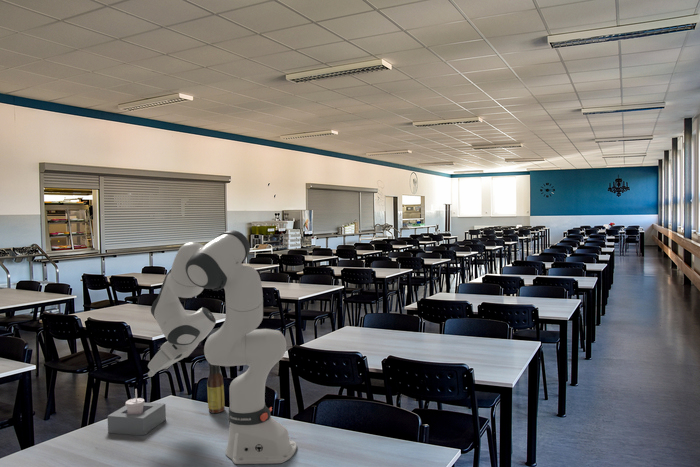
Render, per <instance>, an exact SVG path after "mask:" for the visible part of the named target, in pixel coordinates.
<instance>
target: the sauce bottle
mask: <svg viewBox="0 0 700 467" xmlns="http://www.w3.org/2000/svg"><path fill="white" fill-rule="evenodd" d="M208 366H209V374H208V378H207V380H206V387H207V388H206V389H207V408H208V411H209V412H210V413H212V414H218V413H222V412H223V411H225V408H226V407H225V405H226V404H225V386H224V385H225V384H224V377H223V375H222V373H221V371H220V366H217V365H211V364H210V363H209V362H208Z"/></svg>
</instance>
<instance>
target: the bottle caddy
mask: <svg viewBox="0 0 700 467" xmlns="http://www.w3.org/2000/svg"><path fill="white" fill-rule="evenodd" d="M166 411H167V410H166V403H161V402H160V403H159V402H145V403H144V404H143V413H142V414H141V415H140V414H128V412H127V406H126V405H124V406H122V407H120V408H119V409H117V410H115V411H113V412H112V413H110V414H108V415H107V434H108V433H110V434H119V435H120V434H122V435H133V436H145V435H146V434H148V433H149V432H151V431H152V430H153V429H155V428H156V427H157V426H159V425H160V424H162V423H164V422H165V421H166V419H167V417H166V416H167V412H166Z"/></svg>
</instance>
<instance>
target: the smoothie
mask: <svg viewBox="0 0 700 467" xmlns="http://www.w3.org/2000/svg"><path fill="white" fill-rule="evenodd" d="M134 392H135V393H134V394H135V395H134V398H130V399H128V400H126V401H125V406H127V412H128V414H140V415H141V414H142V413H143V404H144V403H146V402H145V399H144V398H141V397H138V389H137V388H135V389H134Z"/></svg>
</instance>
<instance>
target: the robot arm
mask: <svg viewBox="0 0 700 467" xmlns="http://www.w3.org/2000/svg"><path fill="white" fill-rule="evenodd" d="M250 251H251V245H250V241H249V240H248V238H247V237H246V235H244V234H243V233H242V232H241V231H238V230H234V229H233V230H227V231H224V232H222V233H220V234H218V235H217V236H216V237H214V238H213V239H212V240H210V241H208V242H207V243H205V244H202V243H199V242H197V241H196V242H195V241H192V242H187V243H184V244H183V245H181V246H180V247H179V249H178V251H177V253H176V254H175V257H174V259H173V262H172V266H171V269H170V270H169V271H168V272H167V273H166V275H165V276H164V279H163V282H162V284H161V287H160V291H159V293H158V296H157V297H156V298H155V300H154V301H153V303H152V305H151V307H150V314H151V315H152V316H153V318H154V319H155V321H156V323H157V324H158V326H159V328H160V330H161V332H162V334H163V335H164V337H165V339H166V340H167V341H165V342H164V343H162V345H160V347H159V350H158V351H157V352H156V353H155V355H154V356H153V357H152V359H151V360H150V361H149V362H148V364H147V368H148V369H149V371H148V372H147V376H148V378H151V377H153V376H155V374H157V372H159V371H162V370H167V369H169V368H170V367H171V366H172V365H173V364H175V363H178V362H179V361H181V360H183V359H184V358H188V357H189V356H190V355H191V354H192V353H193V352H194V350H195V349H196V348H197V347H198V345H199V344H200V342H202V341H203V340H204V339H206V337H207V336H208V335H209V334H210V333H211V332H212V330H213V329H214V327H215V325H216V322H217V321H216V317H215V316H214V315H213V313H212V312H211V310H210V309H208V308H206V307H203V306H202V307H201V308H199V309H198V310H197V311H195V312H194V313H191V314H190V313H189V314H188V313H187V311H186V310H185V308H184V306H183V304H182V303H181V301H180V298H182V299H188V298H189V299H190V298H194V297H197V296H199V295H200V294H201V293H202V292H203V291H204V289H207V290H212V291H215V292H216V291H220V290H222V289H224V294H225V319H224V322H223V323H222V324H221V326H220V327H219V329H217V330H216V331H215V332H213V333H211V334H210V335H209V336H208V337H207V339H206V341H205V343H204V348H203V353H204V357H205V359H206V361H207V362H208V364H209V363H210V364H211V365H217V366H219V367H220V366H221V367H235V366H248V369H246V371H244V372H243V373H242V374H239V375H238V376H237V377H235V378H234V379H233V380H232V381H231V382H230V383H229V384H230V385H229V387H228V390H229V407H228V417H227V418H228V425H229V429H228V430H229V431H228V439H227V445H226V448H225V455H226V457H228V458H229V459H231V461H232V462H233V464H235V465H253V464H254V465H259V464H262V465H263V464H268V465H269V464H283V463H285V462H287V461H288V460H290V459H292V457H293V456H294V455H295V453H296V451H297V449H298V448H297V443H296V441H295V440H290V436H289V432H288V429H287V428H286V427H285V426H284V425H282V423H280V422H279V421H277V420H276V419H274V418H273V417H272V416H271V412H272V411H273V409H272V408H273V407H272V406H270V407H268V406H267V405H266V402H265V399H266V397H265V395H266V394H265V393H266V384H267V383H266V382H267V378H268V376H269V374H270V371H271V370H272V368H274V366H275V365H276V364H277V363H278V362H279V361H280V360H282V359H283V357H284V356H285V354H286V351H287V347H288V346H287V340H286V337H285V335H284V334H283V333H282V332H281V330H278V329H277V330H276V329H271V328H258V327H259V326H260V324H262V321H263V318H264V297H263V296H264V293H263V286H262V280H261V277H260V273H259V272H258V270H256V269H255V268H254V267H252V266H249V265H243V264H242V263H243V262H244V261H245V260H246V259H247V257H248V256H249V254H250Z"/></svg>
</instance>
